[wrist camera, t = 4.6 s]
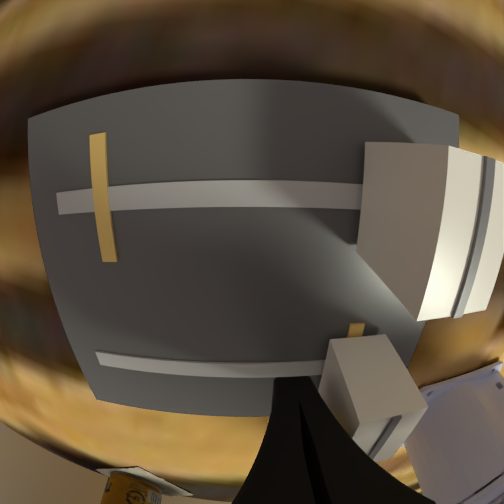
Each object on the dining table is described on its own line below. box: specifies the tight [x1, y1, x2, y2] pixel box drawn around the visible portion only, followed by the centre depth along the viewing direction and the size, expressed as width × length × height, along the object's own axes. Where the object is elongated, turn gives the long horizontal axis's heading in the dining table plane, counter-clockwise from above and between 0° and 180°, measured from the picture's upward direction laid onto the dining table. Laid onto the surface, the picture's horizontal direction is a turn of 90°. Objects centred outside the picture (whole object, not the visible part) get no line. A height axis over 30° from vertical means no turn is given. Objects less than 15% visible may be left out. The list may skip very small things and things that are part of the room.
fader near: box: [356, 142, 504, 321], centre depth 6 cm, size 2×4×4 cm
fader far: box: [318, 334, 428, 463], centre depth 9 cm, size 2×4×4 cm
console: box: [28, 79, 459, 417], centre depth 10 cm, size 16×14×2 cm
